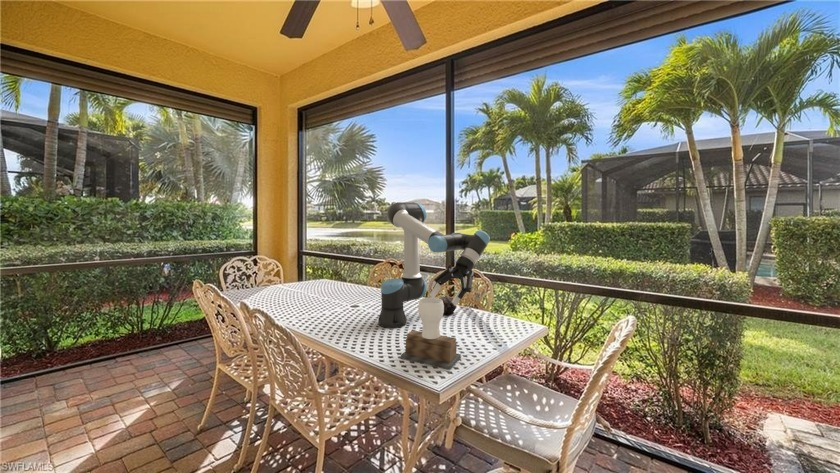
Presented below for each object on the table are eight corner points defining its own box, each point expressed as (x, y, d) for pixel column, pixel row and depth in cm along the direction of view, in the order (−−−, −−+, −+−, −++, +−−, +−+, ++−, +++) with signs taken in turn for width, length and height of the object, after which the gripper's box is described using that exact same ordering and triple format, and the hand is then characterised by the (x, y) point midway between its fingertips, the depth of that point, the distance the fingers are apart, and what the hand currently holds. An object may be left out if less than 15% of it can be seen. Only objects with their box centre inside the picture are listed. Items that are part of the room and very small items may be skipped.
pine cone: (425, 310, 210) (425, 294, 209) (455, 310, 210) (455, 294, 209) (425, 316, 200) (425, 299, 199) (457, 316, 200) (457, 299, 199)
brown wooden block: (400, 358, 145) (400, 336, 144) (414, 347, 156) (414, 327, 155) (450, 369, 135) (450, 346, 134) (460, 357, 146) (461, 335, 145)
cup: (441, 341, 139) (442, 304, 137) (415, 339, 141) (415, 303, 139) (445, 332, 149) (445, 297, 148) (420, 330, 151) (421, 296, 150)
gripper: (493, 270, 146) (468, 312, 138) (451, 262, 165) (427, 298, 157) (485, 259, 142) (459, 302, 134) (443, 252, 161) (418, 289, 153)
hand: (442, 300), depth 146 cm, fingers open, 13 cm apart
